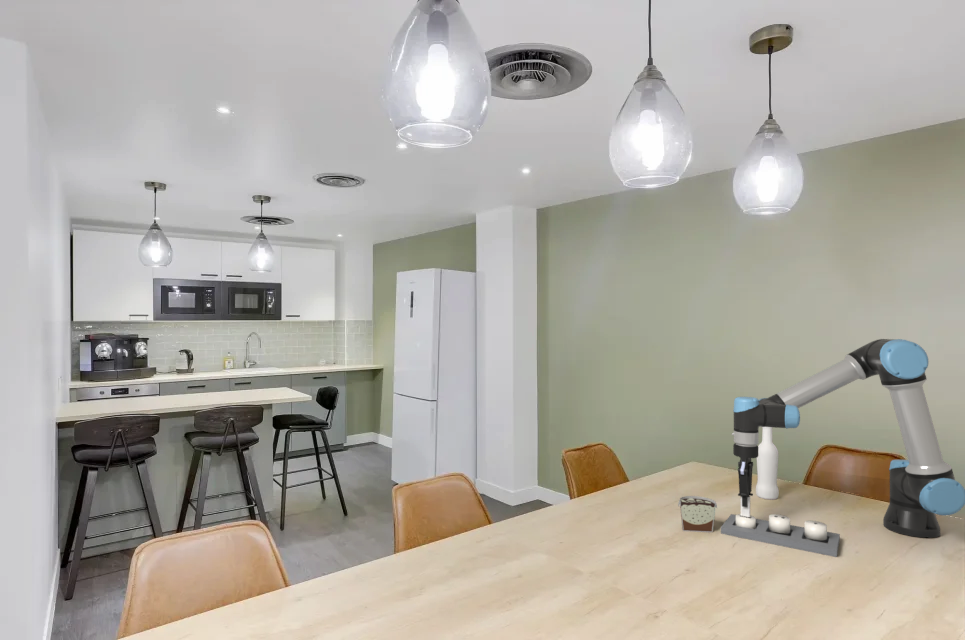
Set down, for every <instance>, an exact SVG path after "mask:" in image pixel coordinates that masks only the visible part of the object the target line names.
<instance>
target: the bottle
mask: <svg viewBox="0 0 965 640" xmlns="http://www.w3.org/2000/svg"><path fill="white" fill-rule="evenodd" d="M761 428H762V430H761V431H762V434H761V435H762V437H761V442H759V444H757V446H758V457H757V458H756V470H757V471H756V472H757V482H756V485H755V495H756V497H758V498H760V499H762V500H763V499H764V500H770V501H771V500H778V498H779V492H780V491H779V487H778V471H779V470H778V469H779V468H778V467H779V457H780V456H779V450H778V448H777V446H776V445H775V444H774V442H773V428H774V427H761Z"/></svg>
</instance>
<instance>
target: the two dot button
mask: <svg viewBox="0 0 965 640" xmlns="http://www.w3.org/2000/svg"><path fill="white" fill-rule="evenodd" d="M768 521H769V529H770V530H771V531H774V532H773V533H775V532H777V533H776V534H780V533H790V525H791V518H790V517H789V516H786V515H783V514H777V513H773V514H769V515H768Z"/></svg>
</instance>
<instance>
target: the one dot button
mask: <svg viewBox="0 0 965 640" xmlns="http://www.w3.org/2000/svg"><path fill="white" fill-rule="evenodd" d="M803 527H804V535H805V536H806V537H807V538H810V539H809V540H812V539H813V540H812V541H817V540H826V539H827V532H828V525H827V524H826V523H824V522H822V521H817V520H805V521H804V526H803Z"/></svg>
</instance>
